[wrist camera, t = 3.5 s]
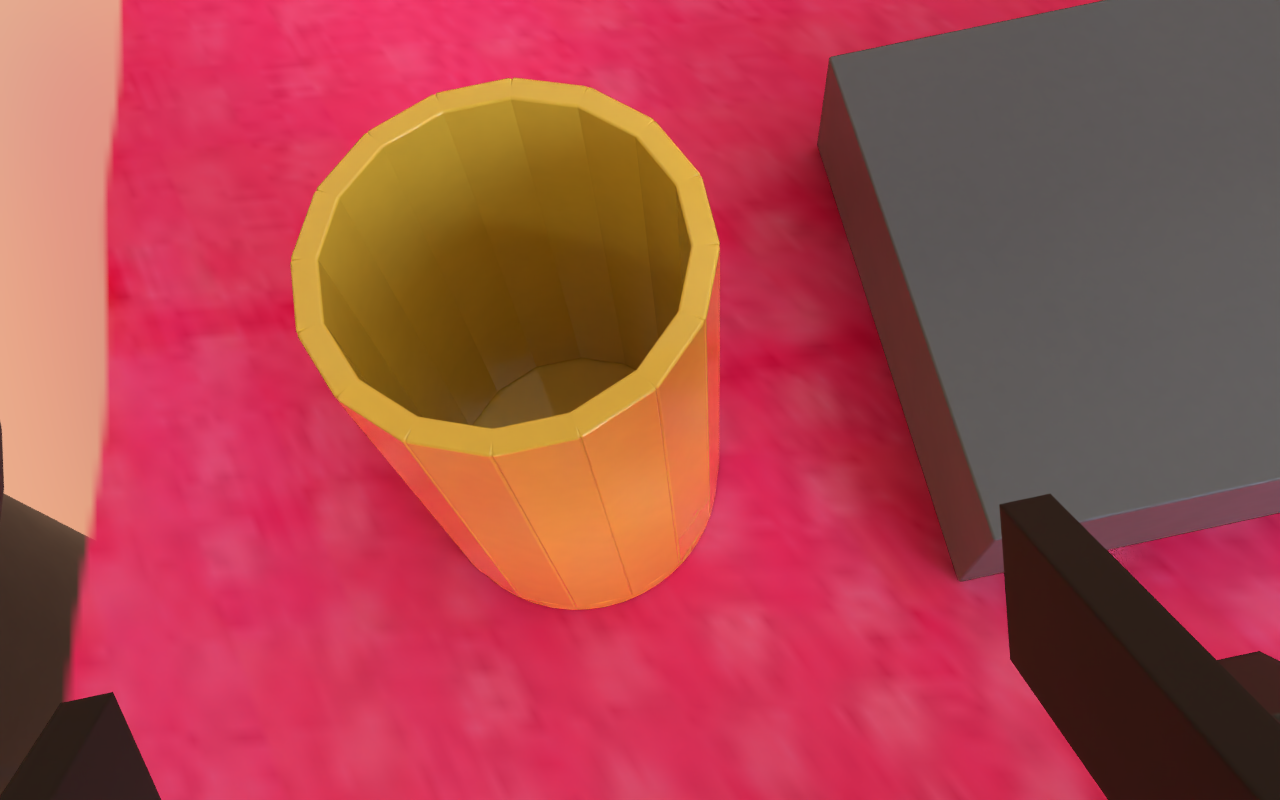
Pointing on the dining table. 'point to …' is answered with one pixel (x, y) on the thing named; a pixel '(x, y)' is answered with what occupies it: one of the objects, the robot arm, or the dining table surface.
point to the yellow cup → (527, 330)
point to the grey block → (1075, 261)
